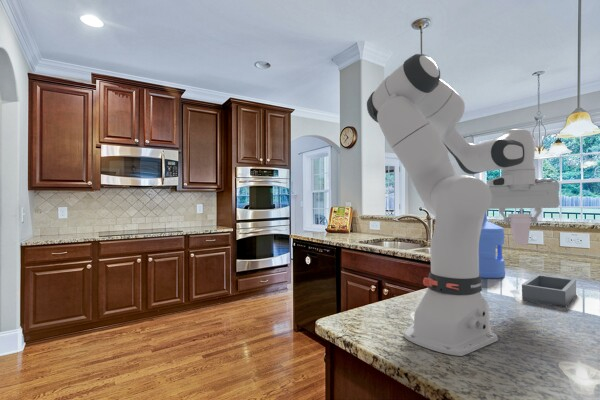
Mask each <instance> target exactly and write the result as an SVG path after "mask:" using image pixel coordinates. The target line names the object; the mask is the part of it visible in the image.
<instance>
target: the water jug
mask: <svg viewBox="0 0 600 400" xmlns="http://www.w3.org/2000/svg"><path fill="white" fill-rule="evenodd" d="M487 213H488V211H487V212H486V213H485V216H484V220H483V224H482V229H481V234H480V239H479V275H480V276H481V279H490V278H495V279H502V278H504V277H505V276H506V270H505V269H506V268H505V267H506V266H505V262H506V261H505V259H504V258H503V245H504V244H505V231H504V230H505V228H503V227H502V226H500V225H498V224H495V223H493V222H490V221H488V219H487V218H488V215H487ZM496 248H497V250H496ZM496 252H497V253H496Z"/></svg>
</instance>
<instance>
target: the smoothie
mask: <svg viewBox="0 0 600 400" xmlns="http://www.w3.org/2000/svg"><path fill="white" fill-rule="evenodd" d="M519 210H520V213H508V214H507V217H509V218H510V219H509V221H510V223H509V225H510V230H511V233H512V241H513V244H514V245H522V246H523V245H529V239H530V228H531V217H533V214H532V213H528V212H527V213H524V212H523V210H524V208H519Z"/></svg>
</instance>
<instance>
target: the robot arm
mask: <svg viewBox="0 0 600 400" xmlns="http://www.w3.org/2000/svg"><path fill="white" fill-rule="evenodd" d="M366 108H367V113H368V115H369V116H370V118H371V119H372V120H373V121H374V122H376V123H378V125H379V127H380V130H381V132H382V134H383V135H384V138H385V140H386V141H387V143H388V145H389V147H390V148H391V149H392V151H393V152H394V154H395V155H396V157H397V158H398V160H399V161H400V163H401V164H402V166H403V167H404V169H405V171H406V172H407V174H408V176H409V177H410V179H411V182H412V183H413V186H414V187H415V189H416V192H417V194H418V196H419V197H420V200H421V201H422V204H423V206H424V208H425V209H426V210H427V211H428V212H429V213H430V214H431V215H432V216H434V217H435V221H434V228H433V232H432V233H433V234H432V238H431V240H430V247H429V248H430V271H429V273H428V277H427V276H426V277H424V278H423V280H422V282H423V283H422V284H423V286H425V287H427V289H426V292H425V293H424V295H423V296H422V298H421V300H420V302H419V304H418V305H417V307H416V309H415V310H414V316H413V322H412V323H411V325H409V327H408V328H406V330H405V331H404V332H403V338H404V339H406V340H408V341H409V342H410V343H413V344H416V345H418V346H420V347H423V348H425V349H428V350H432V351H435V352H438V353H443V354H446V355H451V356H458V357H463V356H466V355H468V354H471V353H473V352H474V351H477V350H480V349H482V348H483V347H487V346H488V345H491V344H493V343H495V342H497V341H499V339H498V335H497V334H496V333H495V332H493V331H491V330H492V329H491V320H490V318H491V317H490V308H489V302H488V301H487V300H486V299H485V298H484V296H483V295H482V293H481V291H482V285H483V282H482V278H481V276H480V275H479V239H480V234H481V229H482V224H483V220H484V216H485V213H486V212H487V213H488V210H490V209H491V210H498V211H499V214H500V215H501V217H502V218H503V219H502V220H503V223H505V224H506V223H507V224H508V223H509V224H510V218H509V217H508V216H506V215H505V213H506V209H520V208H523V209H534V212H535V214H534V215H533V216H532V217H531V221H530V224H531V223H535V224H537V223H538V218H539V216H540V215H541V214H542V210H543V209H554V208H556V209H557V208H558V207H559V206H560V204H561V201H560V196H559V195H560V194H559V191H560V182H559V181H558V180H556V179H553V178H536V167H535V165H534V160H535V145H534V138H533V136H532V132H531V131H530V130H528V129H524V128H512V129H507V130H505V131H503V133H502V134H501V135H500V136H498V137H496V138H494V139H492V140H488V141H483V142H479V143H470V142H468V141H467V140H466V139H465V138H464V137H463V136H462V135H461V133H460V132H459V131H458V130H457V129H456V126H457V125H458V124H459V122H460V121H461V119H462V118H463V116H464V114H465V108H466V107H465V101H464V99H463V98H462V97H461V95H460V94H459V93H458V92H457V91H456V90H455V89H454V88H452V87H451V86H450V85H449V84H448V83H446V82H445V81H444V80H443V79H441V70H440V68H439V66H438V64H437V63H436V61H435V60H433V58H432V57H430V56H429V55H427V54H423V53H415V54H413V55H412V56H409V57H408V58H407V59H405V61H404V62H403V64H401V65H400V66H398V67H397V69H395V70H394V71H393V72H392V73H391V74H390V75H388V76H386V77H385V78H384V80H382V82H381V83H380V84H379V85H378V87H377V88H376V89H375V90H374V91H373V92H371V93H370V95H369V97H368V99H367V100H366ZM449 153H450V154H451V155H452V157H453V158H454V160H456V163H457V164H458V165H459V166H458V167H460V169H461V171H462V172H463V173H465V174H458V175H457V173H456V172H455V170H454V168H453V165H452V163H451V160H450V157H449ZM497 170H498V171H499V170H501V176H497V177H495V178H491V179H489V180H487V181H486V182H485V181H483V180H481V179H480V178H478V177H476V176H472V175H475V174H479V173H484V172H490V171H497ZM466 174H467V175H466ZM487 213H486V214H487Z"/></svg>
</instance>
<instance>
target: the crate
mask: <svg viewBox="0 0 600 400" xmlns="http://www.w3.org/2000/svg"><path fill="white" fill-rule="evenodd" d="M576 296H577V280H576V279H572V278H564V277H556V276H551V275H542V274H536V275H534V276H533V277H531V278H530V279H528V280H527V281H525V282H524V283H522V284H521V300H522V301H527V302H531V303H537V304H543V305H547V306H554V307H558V308H565V309H566V308H567V307H568V306H569V304H570V303H571V302H572V301H573V299H574V298H575V297H576Z"/></svg>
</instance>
